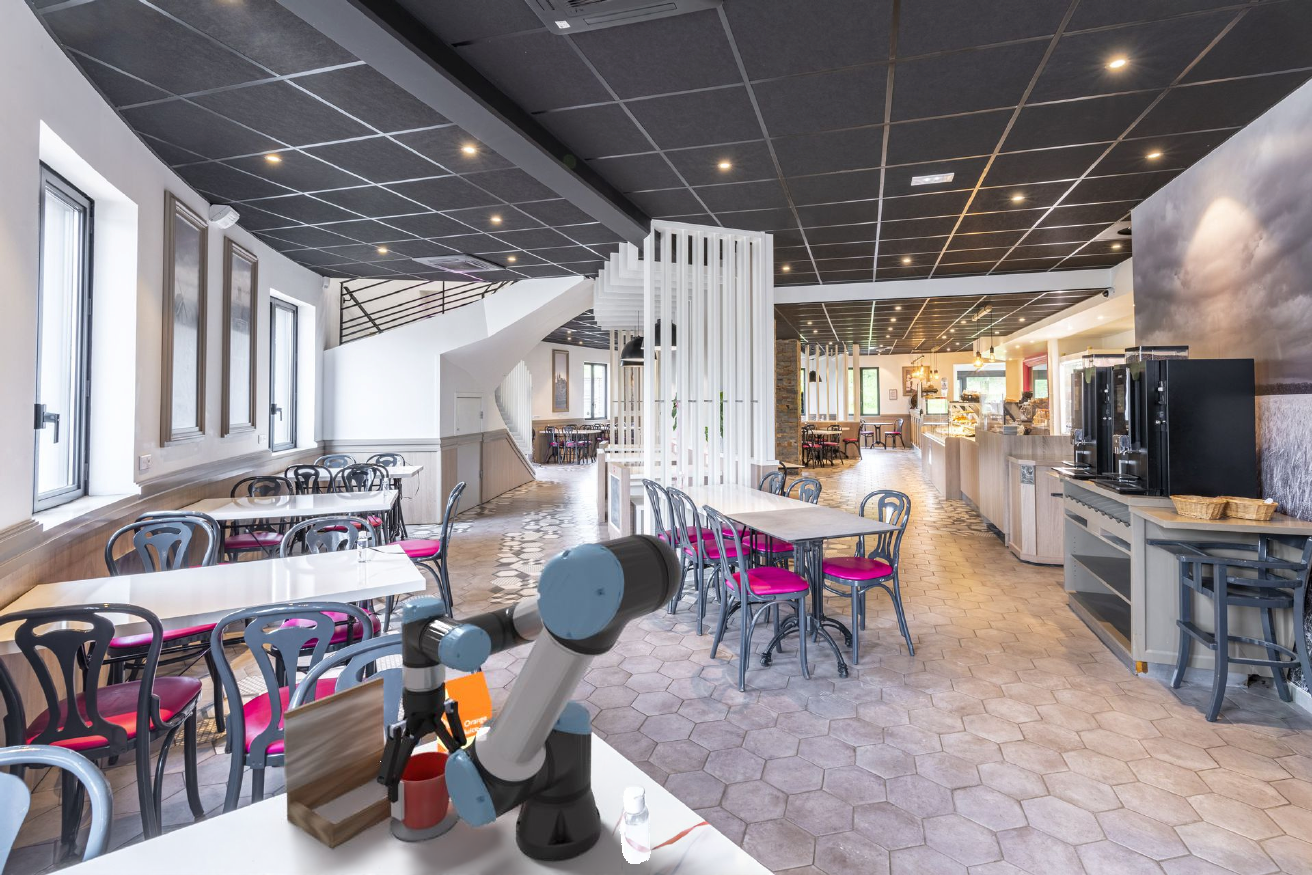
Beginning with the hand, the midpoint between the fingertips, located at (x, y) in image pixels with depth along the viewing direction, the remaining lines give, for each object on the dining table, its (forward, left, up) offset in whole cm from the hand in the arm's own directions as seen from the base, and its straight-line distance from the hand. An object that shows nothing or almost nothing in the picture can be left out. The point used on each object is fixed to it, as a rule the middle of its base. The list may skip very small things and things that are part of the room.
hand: (424, 801), depth 120 cm
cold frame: (+15, +4, -4) cm, 16 cm away
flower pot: (0, 0, -3) cm, 3 cm away
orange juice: (+8, -16, -4) cm, 18 cm away
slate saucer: (0, 0, -4) cm, 4 cm away
